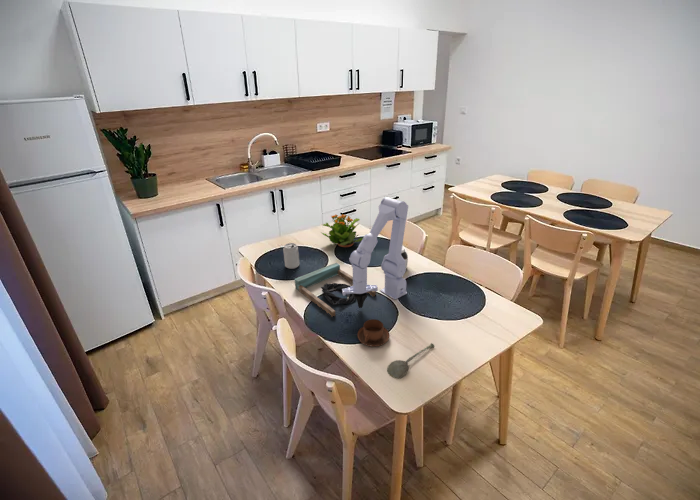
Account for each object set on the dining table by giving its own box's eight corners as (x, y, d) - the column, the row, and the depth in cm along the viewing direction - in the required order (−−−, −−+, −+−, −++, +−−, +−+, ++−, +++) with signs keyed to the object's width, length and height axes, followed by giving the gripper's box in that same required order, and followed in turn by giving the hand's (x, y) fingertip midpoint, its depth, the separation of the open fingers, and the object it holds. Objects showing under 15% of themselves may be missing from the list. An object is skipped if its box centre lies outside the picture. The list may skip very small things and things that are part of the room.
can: (298, 269, 183) (296, 248, 178) (283, 269, 183) (281, 248, 178) (300, 262, 190) (298, 242, 184) (286, 262, 190) (284, 242, 184)
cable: (316, 291, 165) (315, 283, 163) (342, 282, 171) (342, 274, 170) (334, 309, 152) (333, 301, 150) (362, 299, 158) (362, 291, 156)
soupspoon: (382, 372, 121) (396, 384, 116) (382, 365, 119) (397, 377, 115) (425, 342, 133) (440, 352, 128) (426, 335, 131) (441, 345, 126)
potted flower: (374, 241, 211) (374, 213, 203) (353, 257, 193) (352, 227, 186) (339, 233, 223) (338, 206, 216) (316, 247, 205) (314, 219, 198)
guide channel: (375, 295, 160) (375, 286, 158) (332, 317, 147) (332, 307, 145) (336, 271, 180) (336, 262, 178) (295, 288, 167) (294, 278, 165)
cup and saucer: (387, 351, 128) (387, 337, 126) (354, 347, 131) (354, 333, 128) (390, 330, 139) (391, 317, 136) (360, 326, 141) (360, 313, 138)
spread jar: (406, 265, 185) (408, 244, 180) (407, 276, 175) (409, 255, 170) (383, 264, 186) (383, 244, 181) (383, 275, 176) (383, 254, 171)
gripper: (374, 271, 149) (374, 299, 155) (340, 276, 147) (341, 303, 153) (379, 280, 143) (378, 308, 149) (343, 285, 141) (344, 313, 147)
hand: (360, 306), depth 150 cm, fingers closed
